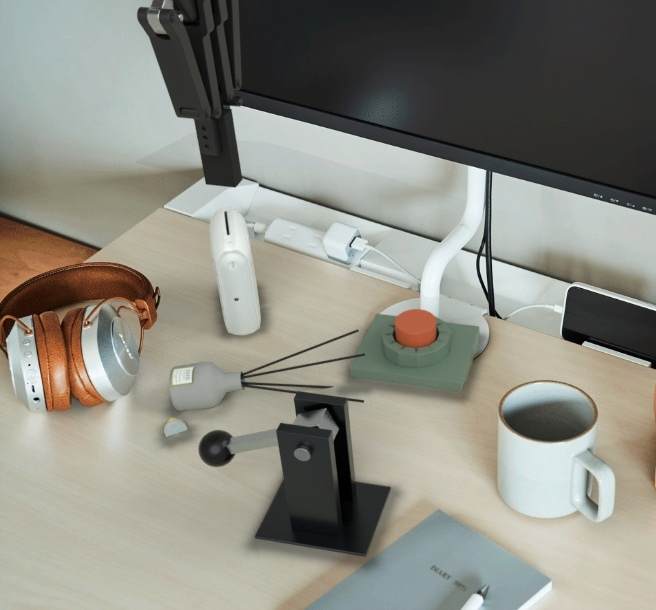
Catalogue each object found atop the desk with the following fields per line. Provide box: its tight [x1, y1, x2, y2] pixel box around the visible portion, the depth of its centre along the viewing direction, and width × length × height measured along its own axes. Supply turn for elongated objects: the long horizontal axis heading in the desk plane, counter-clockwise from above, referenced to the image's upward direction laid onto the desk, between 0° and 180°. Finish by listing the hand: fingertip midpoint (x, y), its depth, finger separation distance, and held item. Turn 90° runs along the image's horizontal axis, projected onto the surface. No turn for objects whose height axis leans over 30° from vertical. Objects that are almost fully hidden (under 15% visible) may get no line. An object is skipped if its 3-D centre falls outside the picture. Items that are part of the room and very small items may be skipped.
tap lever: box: [197, 408, 339, 468], centre depth 78 cm, size 13×3×3 cm, turn 79°
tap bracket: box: [254, 390, 392, 557], centre depth 79 cm, size 10×8×13 cm
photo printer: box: [208, 207, 262, 336], centre depth 105 cm, size 10×4×12 cm, turn 16°
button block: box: [349, 313, 480, 393], centre depth 100 cm, size 12×10×4 cm
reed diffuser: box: [163, 329, 365, 437], centre depth 94 cm, size 10×7×20 cm
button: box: [395, 308, 436, 348], centre depth 99 cm, size 4×4×2 cm
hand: (224, 181), depth 79 cm, fingers closed
